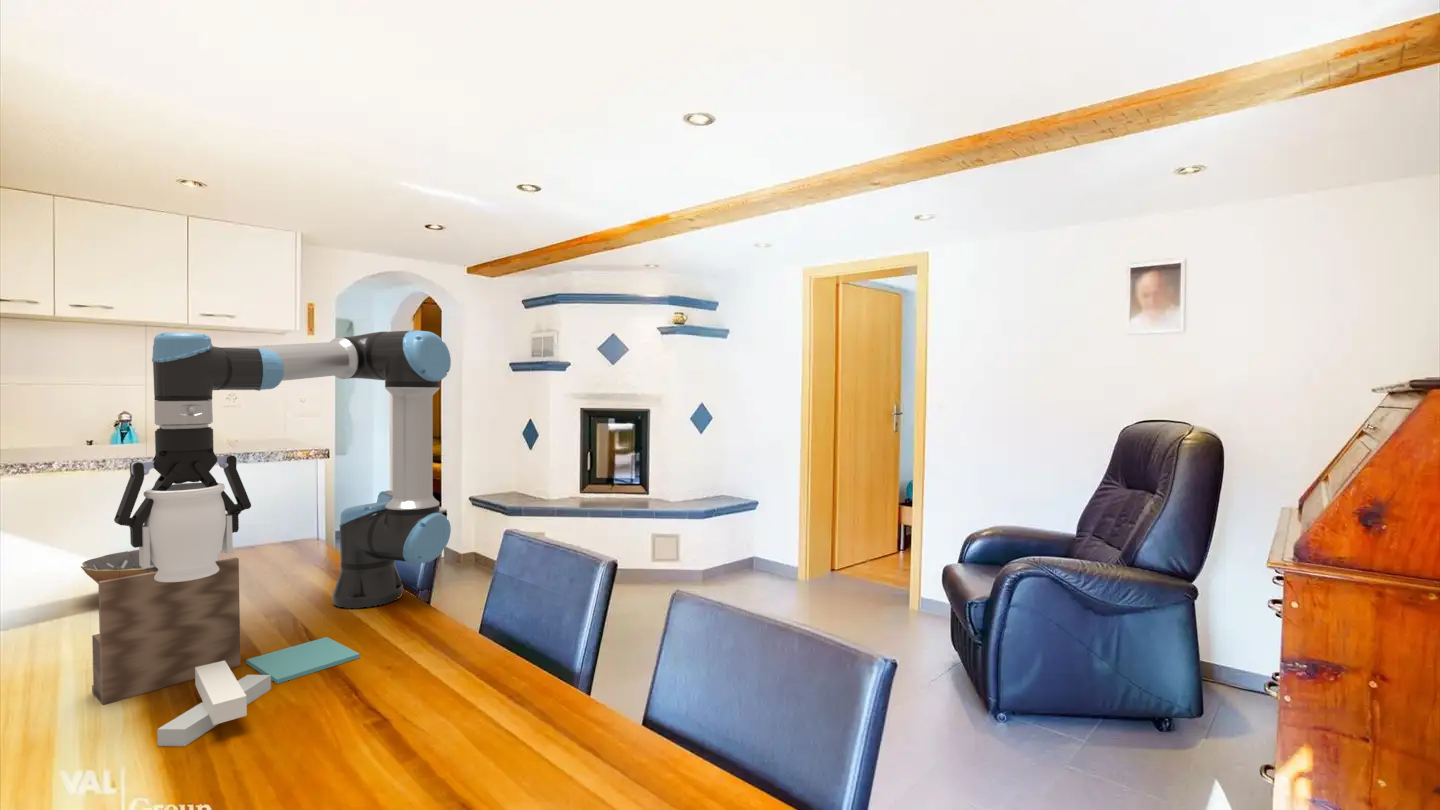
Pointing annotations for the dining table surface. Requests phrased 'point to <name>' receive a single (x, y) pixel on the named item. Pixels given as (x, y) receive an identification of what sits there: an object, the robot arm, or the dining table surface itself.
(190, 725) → the offcut low
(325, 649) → the mat
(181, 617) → the wood grain panel
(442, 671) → the dining table surface
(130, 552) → the bowl
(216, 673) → the offcut top
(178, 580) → the jar
